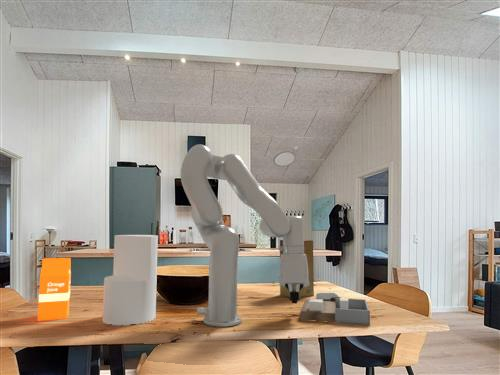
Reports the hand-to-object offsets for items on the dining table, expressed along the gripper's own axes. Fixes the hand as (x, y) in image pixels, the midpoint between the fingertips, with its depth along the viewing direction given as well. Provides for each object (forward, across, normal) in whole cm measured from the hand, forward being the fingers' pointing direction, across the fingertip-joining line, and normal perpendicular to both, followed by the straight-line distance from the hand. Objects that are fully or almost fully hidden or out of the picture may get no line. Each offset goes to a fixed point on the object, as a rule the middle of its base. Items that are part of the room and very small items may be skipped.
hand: (294, 302), depth 131 cm
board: (+5, +8, +5) cm, 11 cm away
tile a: (+3, +16, +10) cm, 18 cm away
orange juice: (+3, -81, -22) cm, 84 cm away
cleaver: (+6, +12, +31) cm, 34 cm away
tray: (+5, +19, +5) cm, 21 cm away
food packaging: (+5, -4, +38) cm, 38 cm away
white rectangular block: (+2, +8, 0) cm, 8 cm away
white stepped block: (+4, -55, -17) cm, 57 cm away
